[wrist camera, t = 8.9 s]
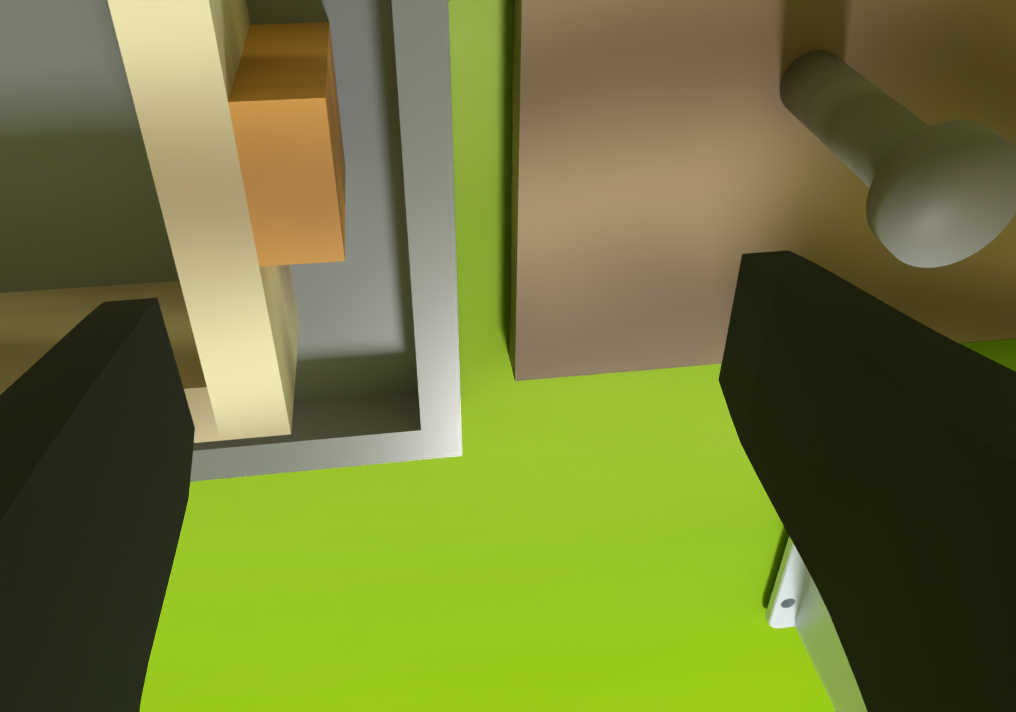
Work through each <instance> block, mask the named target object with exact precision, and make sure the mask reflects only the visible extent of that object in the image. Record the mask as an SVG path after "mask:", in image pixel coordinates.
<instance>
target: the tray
mask: <svg viewBox="0 0 1016 712" xmlns="http://www.w3.org/2000/svg"><path fill="white" fill-rule="evenodd" d="M246 2H247V8H248V14H249V20H250V25H256V24H286V23H315V22H329V23H330V32H331V41H332V50H333V59H334V68H335V77H336V85H337V94H338V103H339V112H340V121H341V130H342V139H343V148H344V157H345V261H338V262H323V263H308V264H293V265H290V268H291V274H292V280H293V286H294V293H295V299H296V305H297V311H298V317H299V336H298V349H297V363H296V376H295V389H294V403H293V416H292V429H291V434H289V435H278V436H266V437H255V438H244V439H233V440H222V441H211V442H199V443H194V445H193V457H192V469H191V478H190V481H200V480H211V479H222V478H232V477H243V476H253V475H264V474H274V473H285V472H296V471H306V470H317V469H327V468H338V467H349V466H359V465H370V464H380V463H391V462H401V461H412V460H423V459H433V458H444V457H454V456H462V432H461V400H460V368H459V336H458V303H457V271H456V239H455V207H454V174H453V142H452V110H451V78H450V45H449V13H448V0H246ZM169 281H180V280H179V276H178V273H177V269H176V265H175V261H174V257H173V253H172V249H171V245H170V241H169V238H168V234H167V230H166V226H165V222H164V218H163V214H162V210H161V206H160V203H159V199H158V195H157V191H156V187H155V183H154V179H153V175H152V171H151V168H150V164H149V160H148V156H147V152H146V148H145V144H144V140H143V137H142V133H141V129H140V125H139V121H138V117H137V113H136V109H135V105H134V102H133V98H132V94H131V90H130V86H129V82H128V78H127V74H126V70H125V67H124V63H123V59H122V55H121V51H120V47H119V43H118V39H117V35H116V32H115V28H114V24H113V20H112V16H111V12H110V8H109V4H108V0H0V293H6V292H21V291H36V290H50V289H65V288H80V287H95V286H110V285H124V284H139V283H154V282H169Z"/></svg>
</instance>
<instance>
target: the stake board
mask: <svg viewBox="0 0 1016 712" xmlns="http://www.w3.org/2000/svg"><path fill="white" fill-rule="evenodd" d="M786 250H788V251H791V252H793V253H795V254H797V255H800V256H802V257H804V258H806V259H808V260H810V261H812V262H814V263H815V264H817V265H819V266H821V267H823V268H825V269H827V270H828V271H830V272H832V273H834V274H836V275H837V276H839V277H841V278H843V279H844V280H846V281H848V282H850V283H851V284H853V285H855V286H857V287H858V288H860V289H862V290H864V291H865V292H867V293H869V294H870V295H872V296H874V297H876V298H877V299H879V300H881V301H883V302H884V303H886V304H888V305H890V306H891V307H893V308H895V309H897V310H898V311H900V312H902V313H904V314H906V315H907V316H909V317H911V318H913V319H914V320H916V321H918V322H920V323H922V324H924V325H925V326H927V327H929V328H931V329H933V330H934V331H936V332H938V333H940V334H942V335H944V336H946V337H948V338H949V339H951V340H953V341H955V342H957V343H969V342H981V341H993V340H1004V339H1016V0H514V31H513V110H512V189H511V267H510V346H509V358H510V362H511V366H512V371H513V375H514V379H515V381H521V380H532V379H544V378H556V377H568V376H580V375H591V374H603V373H615V372H627V371H639V370H650V369H662V368H674V367H686V366H698V365H709V364H721V363H722V359H723V354H724V349H725V343H726V338H727V332H728V327H729V322H730V316H731V311H732V305H733V300H734V295H735V289H736V284H737V279H738V273H739V268H740V262H741V257H742V254H746V253H759V252H772V251H786Z"/></svg>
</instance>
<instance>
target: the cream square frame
mask: <svg viewBox="0 0 1016 712" xmlns="http://www.w3.org/2000/svg"><path fill="white" fill-rule="evenodd" d="M108 4H109V8H110V12H111V16H112V20H113V24H114V28H115V32H116V35H117V39H118V43H119V47H120V51H121V55H122V59H123V63H124V67H125V70H126V74H127V78H128V82H129V86H130V90H131V94H132V98H133V102H134V105H135V109H136V113H137V117H138V121H139V125H140V129H141V133H142V137H143V140H144V144H145V148H146V152H147V156H148V160H149V164H150V168H151V171H152V175H153V179H154V183H155V187H156V191H157V195H158V199H159V203H160V206H161V210H162V214H163V218H164V222H165V226H166V230H167V234H168V238H169V241H170V245H171V249H172V253H173V257H174V261H175V265H176V269H177V273H178V276H179V280H180V281H169V282H154V283H139V284H124V285H110V286H95V287H80V288H65V289H50V290H36V291H21V292H6V293H0V395H1V394H2V393H3V392H4V391H5V390H6V389H7V388H8V387H9V386H11V385H12V384H13V383H14V382H15V381H16V380H17V379H18V378H19V377H20V376H22V375H23V374H24V373H25V372H26V371H27V370H28V369H29V368H30V367H32V366H33V365H34V364H35V363H36V362H37V361H38V360H39V359H40V358H41V357H43V356H44V355H45V354H46V353H47V352H48V351H49V350H50V349H51V348H52V347H53V346H54V345H55V344H57V343H58V342H59V341H60V340H61V339H62V338H63V337H64V336H65V335H66V334H67V333H68V332H70V331H71V330H72V329H73V328H74V327H75V326H76V325H77V324H78V323H79V322H80V321H82V320H83V319H84V318H85V317H86V316H87V315H88V314H89V313H91V312H92V311H93V310H94V309H95V308H97V307H98V306H99V305H100V304H102V303H103V302H107V301H120V300H133V299H147V298H158V302H159V305H160V309H161V312H162V316H163V319H164V323H165V326H166V329H167V333H168V336H169V340H170V343H171V347H172V350H173V354H174V357H175V361H176V364H177V367H178V371H179V374H180V378H181V381H182V385H183V388H184V392H185V395H186V399H187V402H188V405H189V409H190V412H191V416H192V419H193V423H194V426H195V434H194V443H199V442H211V441H222V440H233V439H244V438H255V437H266V436H278V435H289V434H291V429H292V416H293V403H294V389H295V376H296V363H297V349H298V336H299V317H298V311H297V305H296V299H295V293H294V286H293V280H292V274H291V268H290V265H293V264H308V263H323V262H338V261H345V157H344V148H343V139H342V130H341V121H340V112H339V103H338V94H337V85H336V77H335V68H334V59H333V50H332V41H331V32H330V23H329V22H315V23H286V24H256V25H250V20H249V14H248V8H247V2H246V0H108Z"/></svg>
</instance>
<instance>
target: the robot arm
mask: <svg viewBox="0 0 1016 712" xmlns="http://www.w3.org/2000/svg"><path fill="white" fill-rule="evenodd" d="M719 382H720V385H721V388H722V391H723V394H724V397H725V400H726V403H727V406H728V409H729V412H730V415H731V418H732V421H733V423H734V426H735V429H736V431H737V434H738V437H739V439H740V442H741V444H742V446H743V448H744V450H745V452H746V454H747V456H748V458H749V460H750V462H751V464H752V466H753V468H754V470H755V472H756V474H757V476H758V478H759V480H760V481H761V483H762V485H763V487H764V489H765V491H766V493H767V495H768V497H769V499H770V500H771V502H772V504H773V506H774V508H775V510H776V512H777V514H778V515H779V517H780V519H781V521H782V523H783V525H784V527H785V529H786V530H787V532H788V534H789V539H788V542H787V545H786V548H785V552H784V555H783V558H782V562H781V565H780V568H779V572H778V575H777V578H776V581H775V585H774V588H773V591H772V595H771V598H770V601H769V604H768V608H767V611H766V619H767V621H768V624H769V625H770V626H771V627H774V628H785V627H793V626H795V627H796V629H797V631H798V633H799V635H800V637H801V639H802V641H803V644H804V646H805V648H806V650H807V652H808V654H809V656H810V658H811V660H812V662H813V664H814V667H815V669H816V671H817V673H818V675H819V677H820V679H821V681H822V683H823V685H824V688H825V690H826V692H827V694H828V696H829V698H830V700H831V702H832V704H833V706H834V708H835V711H836V712H1016V372H1015V371H1013V370H1011V369H1009V368H1007V367H1005V366H1003V365H1001V364H999V363H997V362H995V361H993V360H991V359H989V358H987V357H985V356H983V355H981V354H979V353H977V352H975V351H973V350H971V349H969V348H967V347H965V346H963V345H961V344H959V343H957V342H955V341H953V340H951V339H949V338H948V337H946V336H944V335H942V334H940V333H938V332H936V331H934V330H933V329H931V328H929V327H927V326H925V325H924V324H922V323H920V322H918V321H916V320H914V319H913V318H911V317H909V316H907V315H906V314H904V313H902V312H900V311H898V310H897V309H895V308H893V307H891V306H890V305H888V304H886V303H884V302H883V301H881V300H879V299H877V298H876V297H874V296H872V295H870V294H869V293H867V292H865V291H864V290H862V289H860V288H858V287H857V286H855V285H853V284H851V283H850V282H848V281H846V280H844V279H843V278H841V277H839V276H837V275H836V274H834V273H832V272H830V271H828V270H827V269H825V268H823V267H821V266H819V265H817V264H815V263H814V262H812V261H810V260H808V259H806V258H804V257H802V256H800V255H797V254H795V253H793V252H791V251H788V250H786V251H772V252H759V253H746V254H742V257H741V262H740V268H739V273H738V279H737V284H736V289H735V295H734V300H733V305H732V311H731V316H730V322H729V327H728V332H727V338H726V343H725V349H724V354H723V359H722V365H721V370H720V376H719ZM194 434H195V426H194V423H193V419H192V416H191V412H190V409H189V405H188V402H187V399H186V395H185V392H184V388H183V385H182V381H181V378H180V374H179V371H178V367H177V364H176V361H175V357H174V354H173V350H172V347H171V343H170V340H169V336H168V333H167V329H166V326H165V323H164V319H163V316H162V312H161V309H160V305H159V302H158V298H147V299H133V300H120V301H107V302H103V303H102V304H100V305H99V306H98V307H97V308H95V309H94V310H93V311H92V312H91V313H89V314H88V315H87V316H86V317H85V318H84V319H83V320H82V321H80V322H79V323H78V324H77V325H76V326H75V327H74V328H73V329H72V330H71V331H70V332H68V333H67V334H66V335H65V336H64V337H63V338H62V339H61V340H60V341H59V342H58V343H57V344H55V345H54V346H53V347H52V348H51V349H50V350H49V351H48V352H47V353H46V354H45V355H44V356H43V357H41V358H40V359H39V360H38V361H37V362H36V363H35V364H34V365H33V366H32V367H30V368H29V369H28V370H27V371H26V372H25V373H24V374H23V375H22V376H20V377H19V378H18V379H17V380H16V381H15V382H14V383H13V384H12V385H11V386H9V387H8V388H7V389H6V390H5V391H4V392H3V393H2V394H1V395H0V712H139V709H140V702H141V696H142V691H143V686H144V681H145V676H146V671H147V666H148V661H149V657H150V653H151V649H152V645H153V641H154V637H155V633H156V629H157V625H158V621H159V617H160V613H161V609H162V605H163V601H164V597H165V593H166V589H167V585H168V581H169V577H170V573H171V569H172V565H173V561H174V557H175V553H176V548H177V544H178V540H179V536H180V532H181V528H182V523H183V519H184V515H185V511H186V506H187V502H188V496H189V487H190V478H191V469H192V457H193V445H194Z"/></svg>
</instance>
